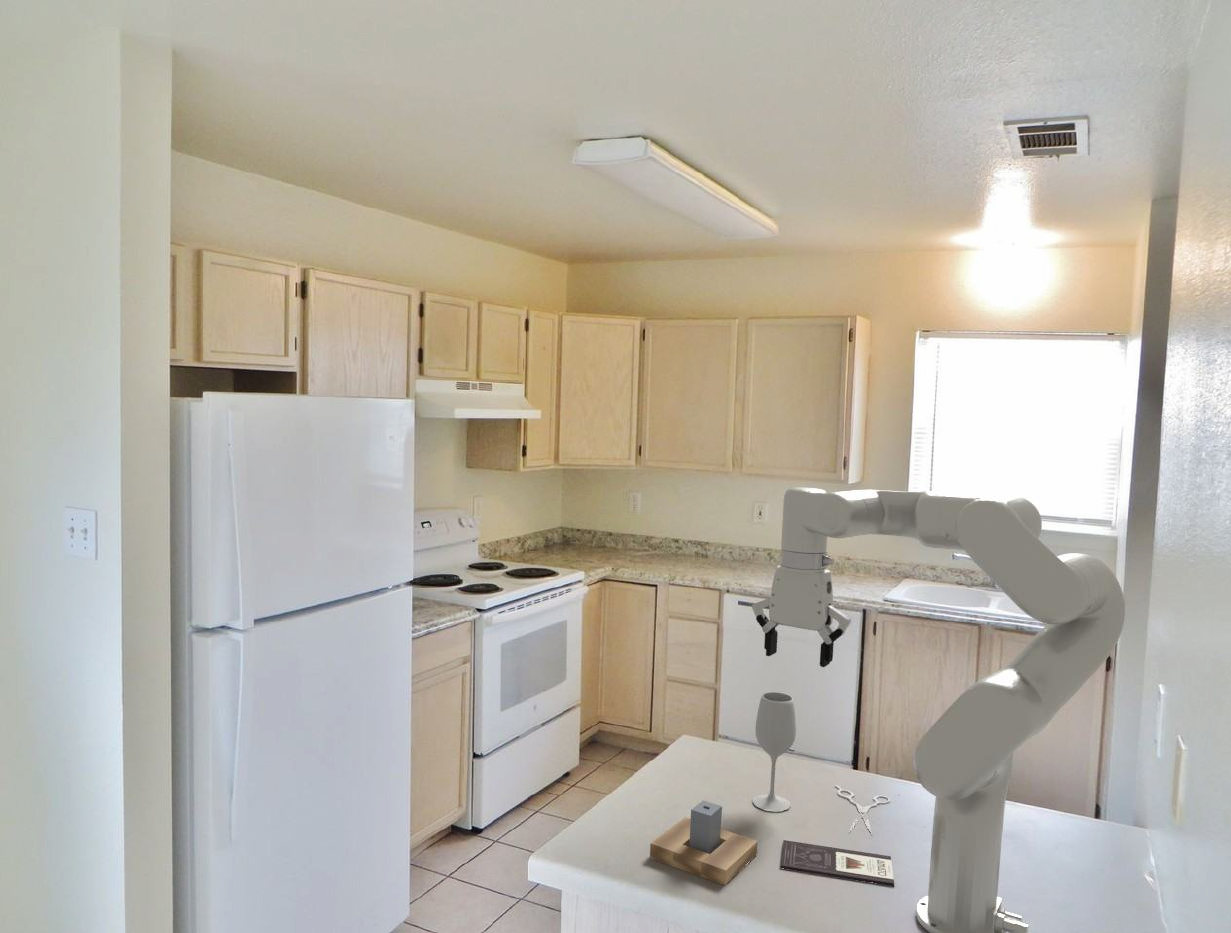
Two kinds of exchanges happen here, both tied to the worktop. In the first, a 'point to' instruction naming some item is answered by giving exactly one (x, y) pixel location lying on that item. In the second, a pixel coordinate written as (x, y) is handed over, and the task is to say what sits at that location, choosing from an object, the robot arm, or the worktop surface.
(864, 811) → the scissors
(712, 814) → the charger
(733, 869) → the socket board
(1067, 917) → the worktop surface
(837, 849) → the chocolate bar
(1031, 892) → the worktop surface
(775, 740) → the wineglass
